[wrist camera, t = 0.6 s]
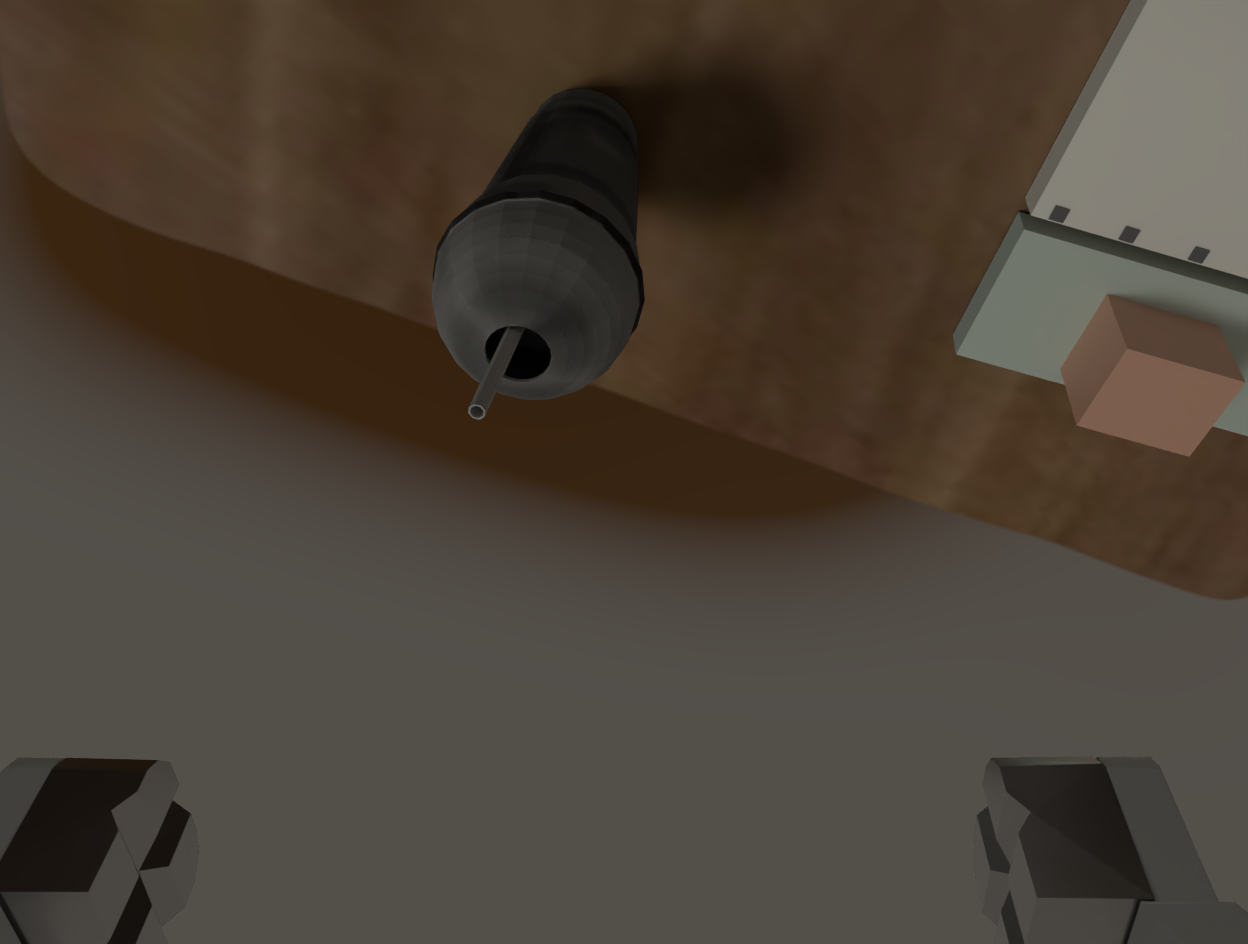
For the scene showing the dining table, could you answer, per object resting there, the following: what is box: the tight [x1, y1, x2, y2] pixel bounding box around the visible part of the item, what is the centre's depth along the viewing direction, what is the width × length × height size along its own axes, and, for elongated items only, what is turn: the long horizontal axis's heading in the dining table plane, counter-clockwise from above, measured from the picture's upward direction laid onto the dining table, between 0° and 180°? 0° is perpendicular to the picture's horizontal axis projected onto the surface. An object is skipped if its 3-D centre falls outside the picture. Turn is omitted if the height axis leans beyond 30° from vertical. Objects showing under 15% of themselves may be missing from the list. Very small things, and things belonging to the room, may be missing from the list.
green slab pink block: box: [953, 212, 1248, 456], centre depth 49 cm, size 6×14×6 cm, turn 75°
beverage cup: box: [432, 89, 645, 420], centre depth 41 cm, size 7×7×20 cm
